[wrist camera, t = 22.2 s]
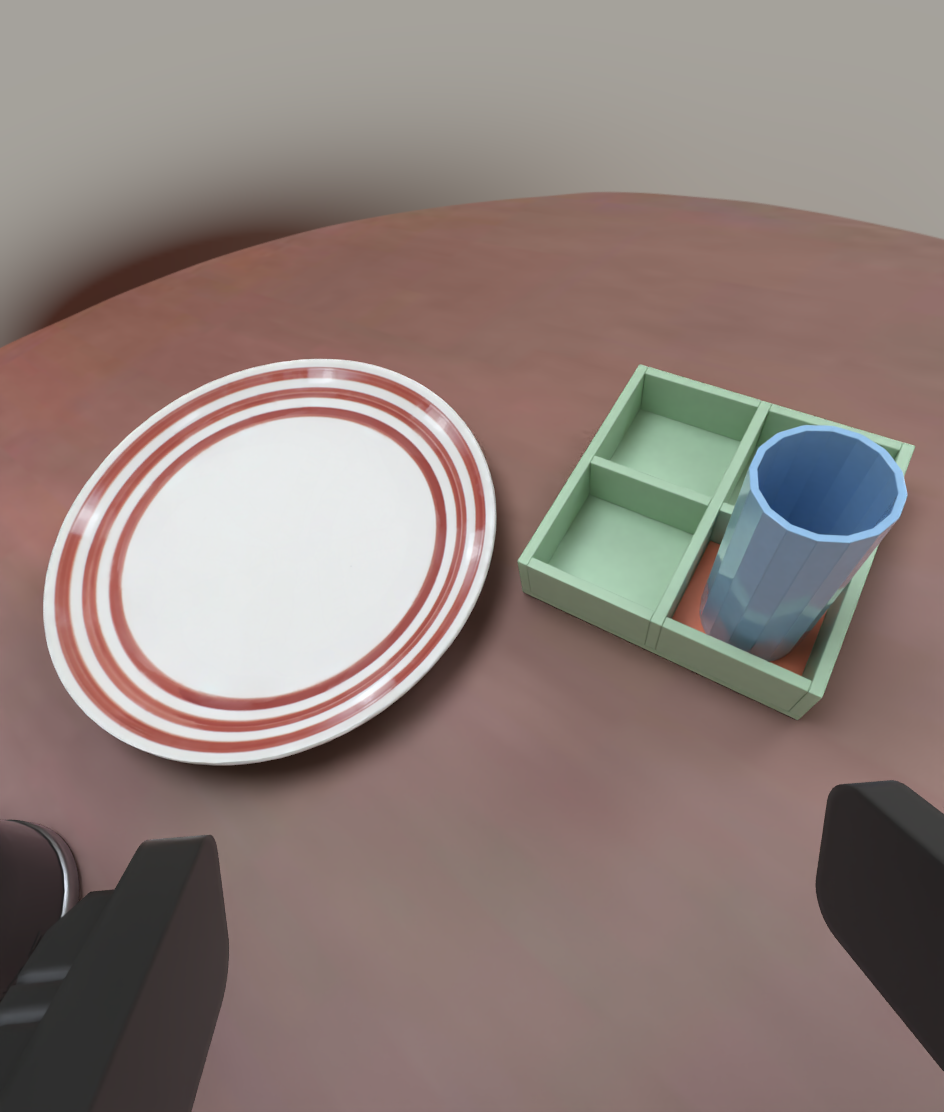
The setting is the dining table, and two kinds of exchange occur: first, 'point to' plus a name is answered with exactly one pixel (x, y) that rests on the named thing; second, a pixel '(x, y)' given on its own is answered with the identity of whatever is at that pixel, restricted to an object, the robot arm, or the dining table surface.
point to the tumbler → (798, 536)
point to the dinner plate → (269, 561)
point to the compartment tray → (677, 533)
